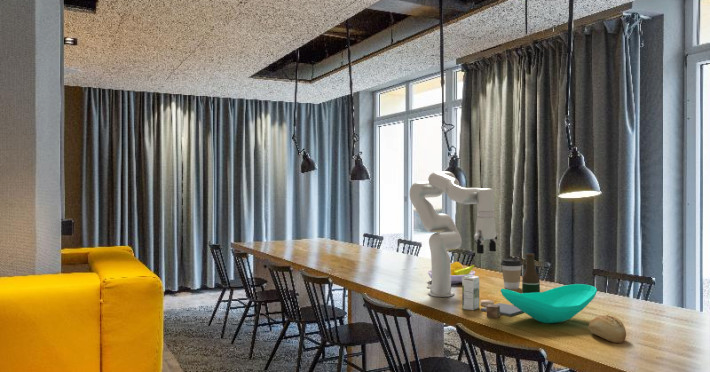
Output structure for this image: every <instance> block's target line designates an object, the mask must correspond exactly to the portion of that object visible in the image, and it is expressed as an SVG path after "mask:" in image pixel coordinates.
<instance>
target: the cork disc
mask: <svg viewBox="0 0 710 372" xmlns="http://www.w3.org/2000/svg"><path fill="white" fill-rule="evenodd" d="M479 304H480V306H481V307H486V306H488V305H489V304H492V305H495V301H494V300H491V299H481V300H479Z"/></svg>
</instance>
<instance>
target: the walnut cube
mask: <svg viewBox="0 0 710 372" xmlns="http://www.w3.org/2000/svg"><path fill="white" fill-rule="evenodd" d="M485 307H486V309H487V312H486V318H494V319H498V318H499V317H500V316H501V314H500V305H495V304H494V305H492V304H489V305H488V306H485Z"/></svg>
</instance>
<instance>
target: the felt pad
mask: <svg viewBox="0 0 710 372" xmlns="http://www.w3.org/2000/svg"><path fill="white" fill-rule="evenodd" d="M494 305H500V316H507V317H513V316H516V315H519V314H522V313H524V312H523V311H522V310H520V309H519V308H517V307H516V306H514V305H513V304H507V303H501V302H499V303H494ZM480 311H481V312H486V313H487V309H486V306H483V307H481V308H480Z"/></svg>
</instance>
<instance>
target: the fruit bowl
mask: <svg viewBox="0 0 710 372" xmlns="http://www.w3.org/2000/svg"><path fill="white" fill-rule="evenodd" d="M450 264H451V285H453V284H454V285H456V284H457V285H458V284H462V277H465V276H468V275H472V276H475V273H476V271H475V270H473V269H474V267H475V265H474V264H472V265H471V266H467V267H464V266H463V264H462V263H460V262H459V261H454V262H453V263H450ZM426 272H427V274H428V276H429V278H430V279H432V269H430V270H427V271H426Z"/></svg>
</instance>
